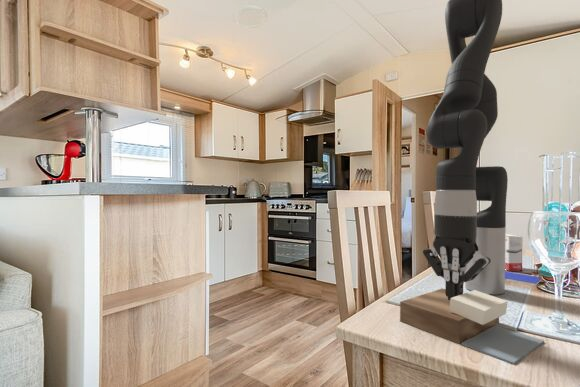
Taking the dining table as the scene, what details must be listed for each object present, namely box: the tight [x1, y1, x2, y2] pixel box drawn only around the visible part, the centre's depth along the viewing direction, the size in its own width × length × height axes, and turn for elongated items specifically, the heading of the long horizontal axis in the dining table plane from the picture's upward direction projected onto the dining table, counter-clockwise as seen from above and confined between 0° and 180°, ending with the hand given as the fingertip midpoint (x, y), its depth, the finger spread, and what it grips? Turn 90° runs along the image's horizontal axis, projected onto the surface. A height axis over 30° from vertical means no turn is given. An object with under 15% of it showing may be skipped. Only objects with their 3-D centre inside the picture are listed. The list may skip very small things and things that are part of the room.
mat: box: [461, 324, 545, 365], centre depth 58 cm, size 13×8×1 cm, turn 126°
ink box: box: [505, 233, 523, 272], centre depth 114 cm, size 9×5×12 cm, turn 179°
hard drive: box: [505, 270, 540, 286], centre depth 101 cm, size 2×8×12 cm
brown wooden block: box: [399, 287, 500, 344], centre depth 67 cm, size 16×12×4 cm
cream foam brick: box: [449, 290, 508, 325], centre depth 62 cm, size 9×6×2 cm, turn 125°
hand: (453, 300), depth 65 cm, fingers closed
